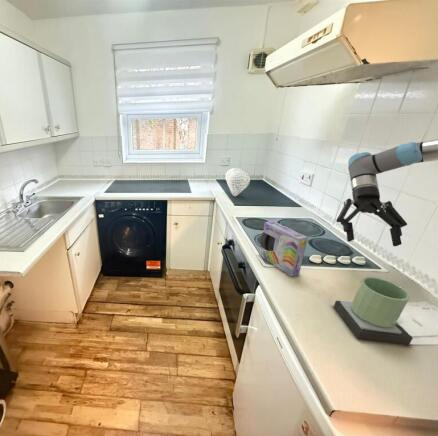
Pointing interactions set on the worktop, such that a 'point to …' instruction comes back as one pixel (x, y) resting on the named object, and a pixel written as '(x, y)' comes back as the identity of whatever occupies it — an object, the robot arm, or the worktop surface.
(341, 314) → the scale
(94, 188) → the worktop surface
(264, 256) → the cake pan box
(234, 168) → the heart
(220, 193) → the worktop surface
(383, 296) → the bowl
